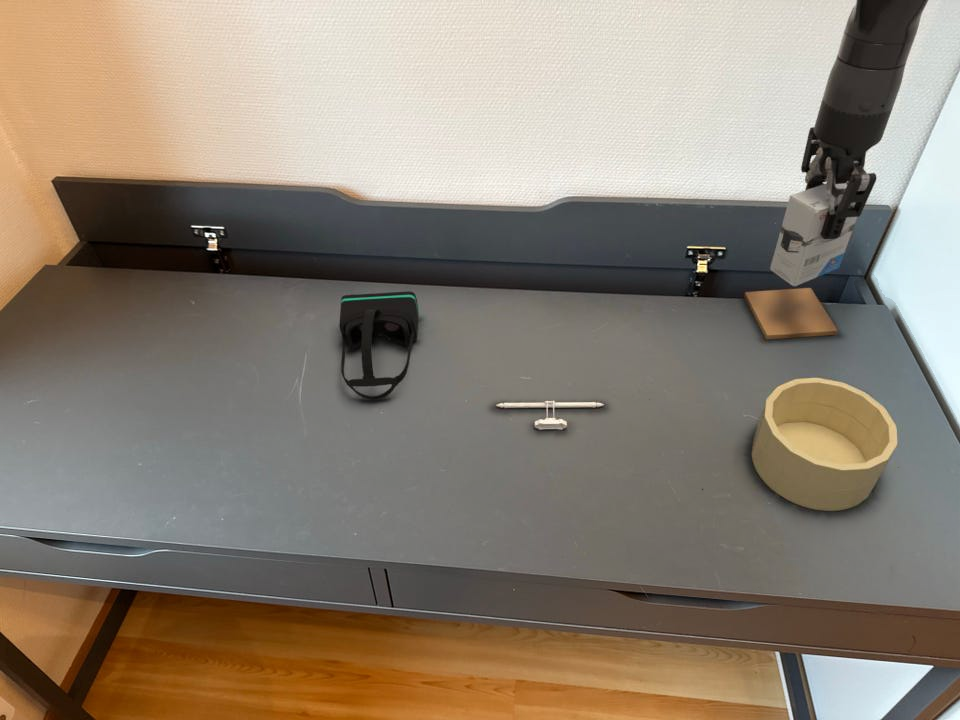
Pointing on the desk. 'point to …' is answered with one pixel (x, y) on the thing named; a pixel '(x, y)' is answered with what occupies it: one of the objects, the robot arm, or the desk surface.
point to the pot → (822, 443)
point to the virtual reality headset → (377, 331)
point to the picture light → (548, 422)
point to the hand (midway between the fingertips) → (818, 222)
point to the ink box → (809, 238)
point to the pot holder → (789, 313)
